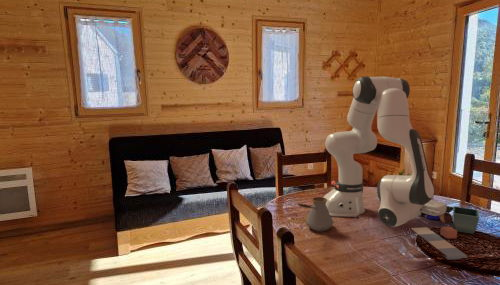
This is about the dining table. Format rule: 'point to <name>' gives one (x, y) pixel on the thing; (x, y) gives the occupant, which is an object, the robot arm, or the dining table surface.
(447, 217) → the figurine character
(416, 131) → the robot arm
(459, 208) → the flower pot
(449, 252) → the track
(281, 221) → the dining table surface
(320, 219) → the coffee pot
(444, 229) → the salmon red cube
